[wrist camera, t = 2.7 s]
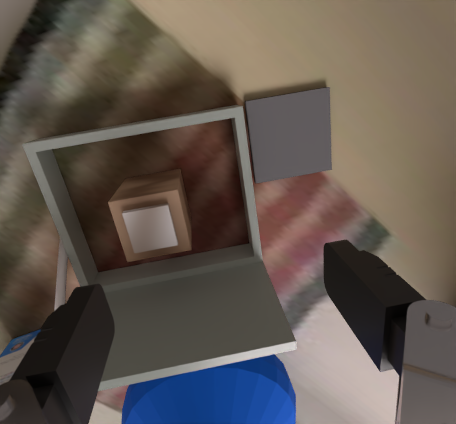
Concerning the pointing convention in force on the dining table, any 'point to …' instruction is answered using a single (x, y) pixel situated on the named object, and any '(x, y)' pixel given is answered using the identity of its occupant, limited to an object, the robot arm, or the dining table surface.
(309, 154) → the mat
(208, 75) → the dining table surface
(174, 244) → the module
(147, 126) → the case
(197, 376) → the blue funnel
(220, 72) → the dining table surface
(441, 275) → the dining table surface
